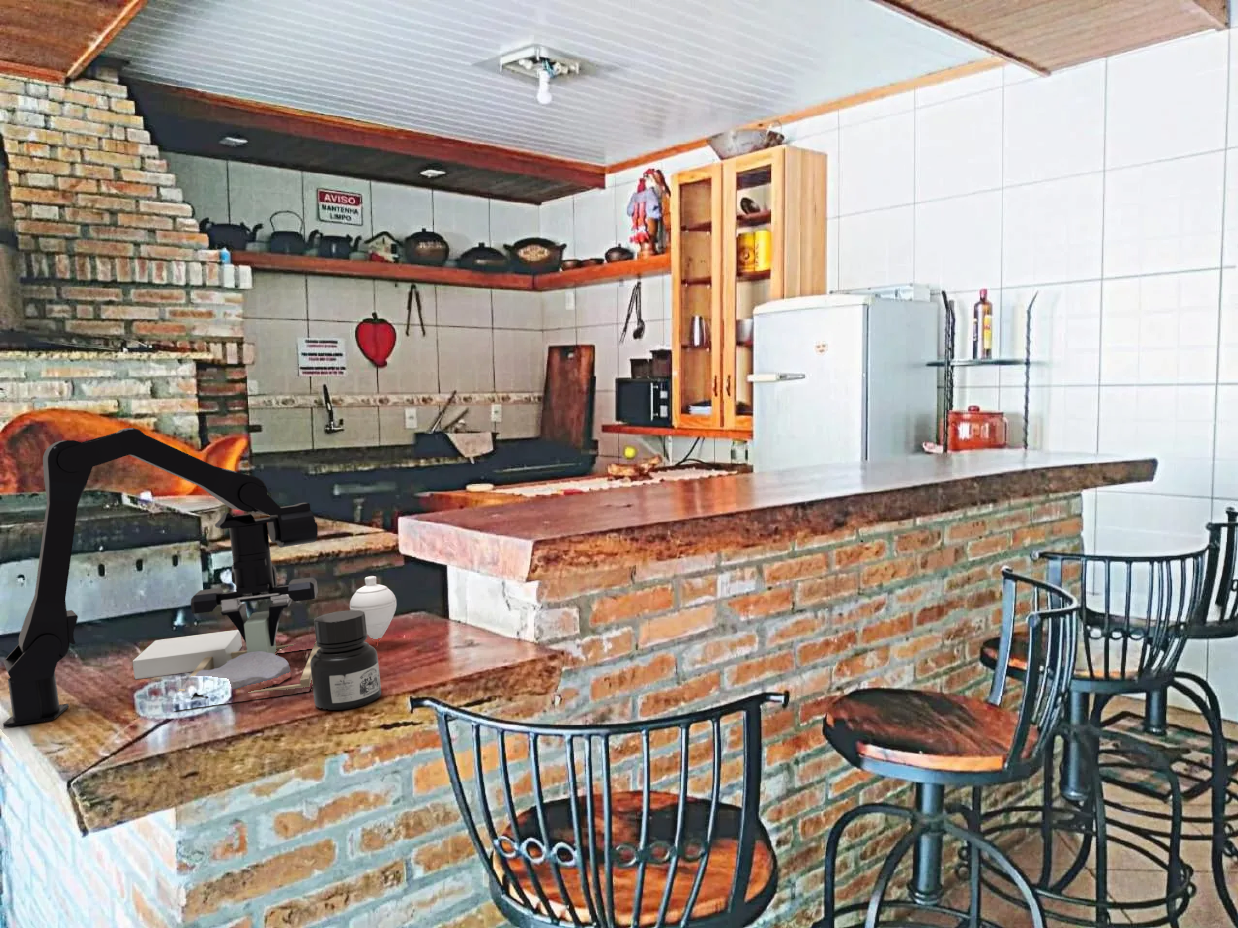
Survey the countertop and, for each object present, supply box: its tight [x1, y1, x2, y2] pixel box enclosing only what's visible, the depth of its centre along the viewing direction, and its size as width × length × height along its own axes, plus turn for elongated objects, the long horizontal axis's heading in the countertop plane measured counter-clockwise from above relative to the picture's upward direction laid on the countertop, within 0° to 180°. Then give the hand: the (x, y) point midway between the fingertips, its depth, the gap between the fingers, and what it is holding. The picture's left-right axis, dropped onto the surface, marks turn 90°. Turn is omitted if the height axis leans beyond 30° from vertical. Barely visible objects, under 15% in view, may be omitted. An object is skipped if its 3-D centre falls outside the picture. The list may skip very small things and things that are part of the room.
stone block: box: [196, 651, 292, 689], centre depth 142 cm, size 12×5×10 cm
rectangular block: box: [244, 610, 277, 654], centre depth 153 cm, size 9×3×8 cm, turn 13°
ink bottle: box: [310, 609, 382, 711], centre depth 130 cm, size 10×9×12 cm
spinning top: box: [349, 575, 397, 640], centre depth 159 cm, size 8×8×12 cm
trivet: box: [132, 629, 243, 680], centre depth 159 cm, size 14×14×3 cm
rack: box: [177, 642, 320, 693], centre depth 147 cm, size 27×18×2 cm
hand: (261, 646), depth 153 cm, fingers closed on rectangular block, 3 cm apart
